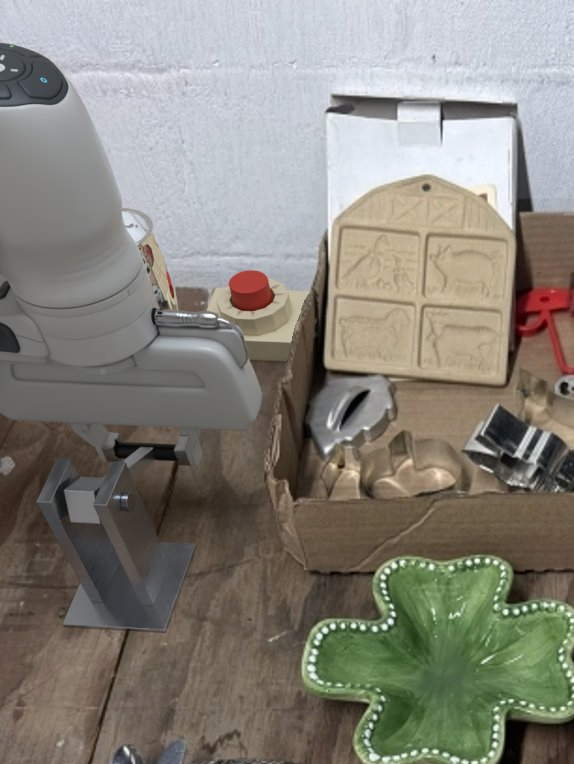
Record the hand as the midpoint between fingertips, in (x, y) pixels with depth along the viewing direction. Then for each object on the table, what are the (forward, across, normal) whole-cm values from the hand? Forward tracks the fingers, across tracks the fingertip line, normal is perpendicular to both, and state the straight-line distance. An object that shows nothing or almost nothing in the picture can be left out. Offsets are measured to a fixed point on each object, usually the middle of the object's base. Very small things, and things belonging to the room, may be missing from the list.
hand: (152, 458), depth 86 cm
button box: (+5, -3, -23) cm, 24 cm away
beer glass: (+5, +5, -16) cm, 17 cm away
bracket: (+5, 0, +10) cm, 11 cm away
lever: (-2, 0, +6) cm, 6 cm away
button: (+1, -3, -23) cm, 23 cm away
